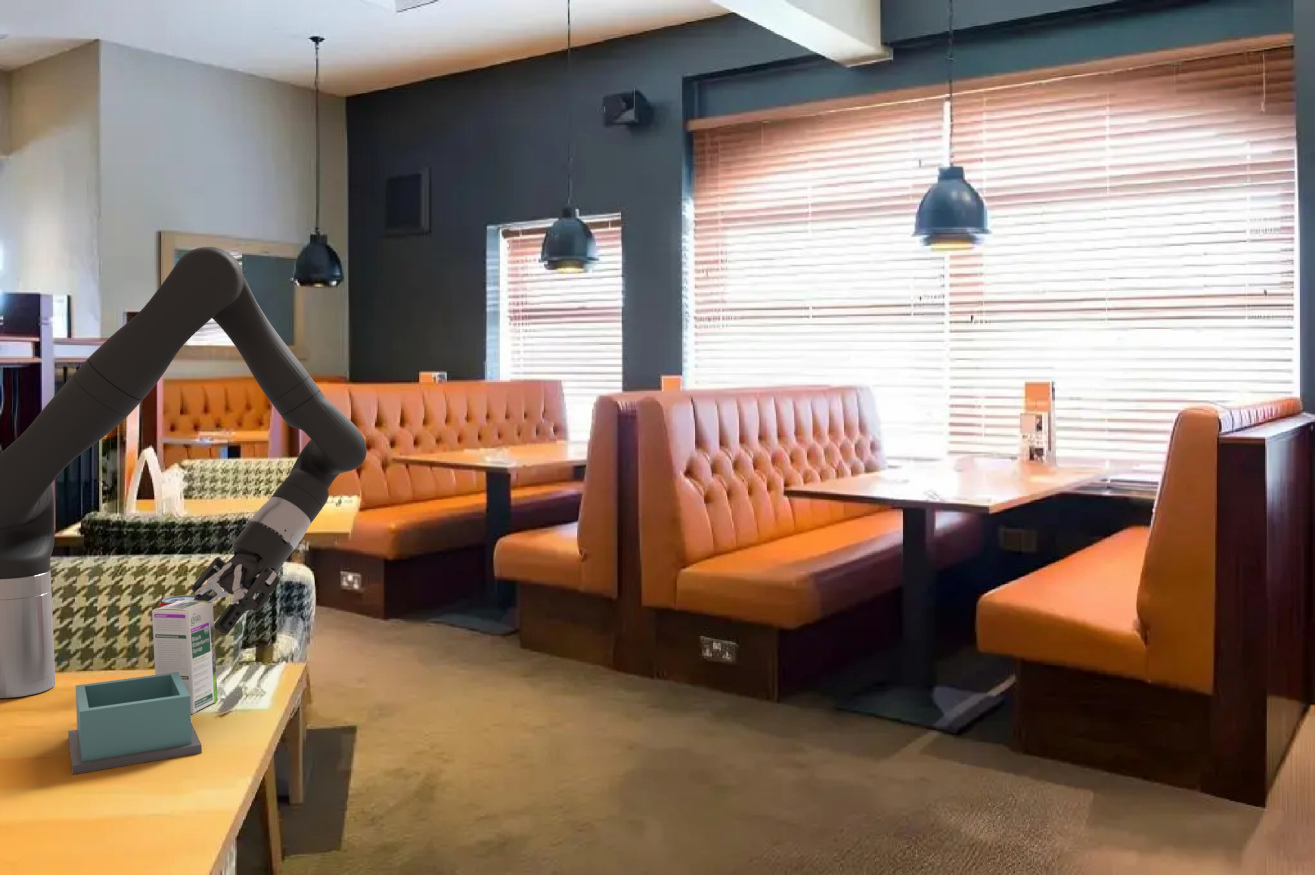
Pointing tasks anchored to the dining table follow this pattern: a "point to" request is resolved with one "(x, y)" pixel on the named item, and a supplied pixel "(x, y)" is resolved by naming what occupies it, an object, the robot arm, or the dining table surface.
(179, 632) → the syrup box
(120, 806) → the dining table surface
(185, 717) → the teal square open box
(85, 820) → the dining table surface
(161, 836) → the dining table surface
